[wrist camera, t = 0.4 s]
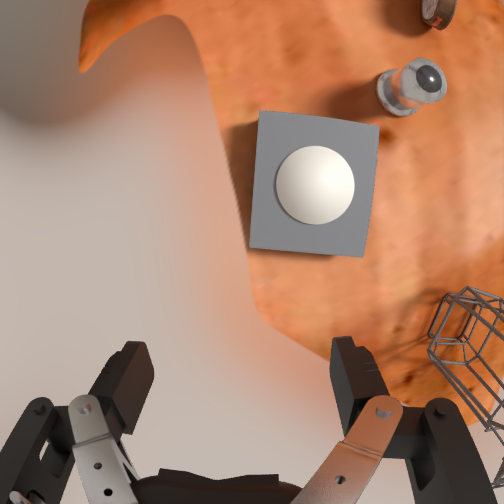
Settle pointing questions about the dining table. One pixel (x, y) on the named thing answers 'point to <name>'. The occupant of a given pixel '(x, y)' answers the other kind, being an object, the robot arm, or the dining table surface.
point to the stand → (313, 184)
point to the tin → (438, 12)
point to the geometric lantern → (436, 360)
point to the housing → (411, 87)
